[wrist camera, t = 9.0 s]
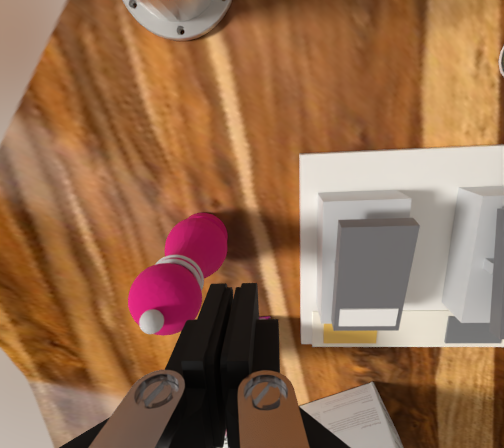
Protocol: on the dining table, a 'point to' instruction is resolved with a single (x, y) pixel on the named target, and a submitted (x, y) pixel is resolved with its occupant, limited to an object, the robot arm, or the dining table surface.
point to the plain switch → (498, 280)
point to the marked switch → (372, 273)
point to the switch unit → (427, 246)
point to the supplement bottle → (501, 61)
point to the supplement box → (356, 418)
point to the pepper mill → (178, 275)
